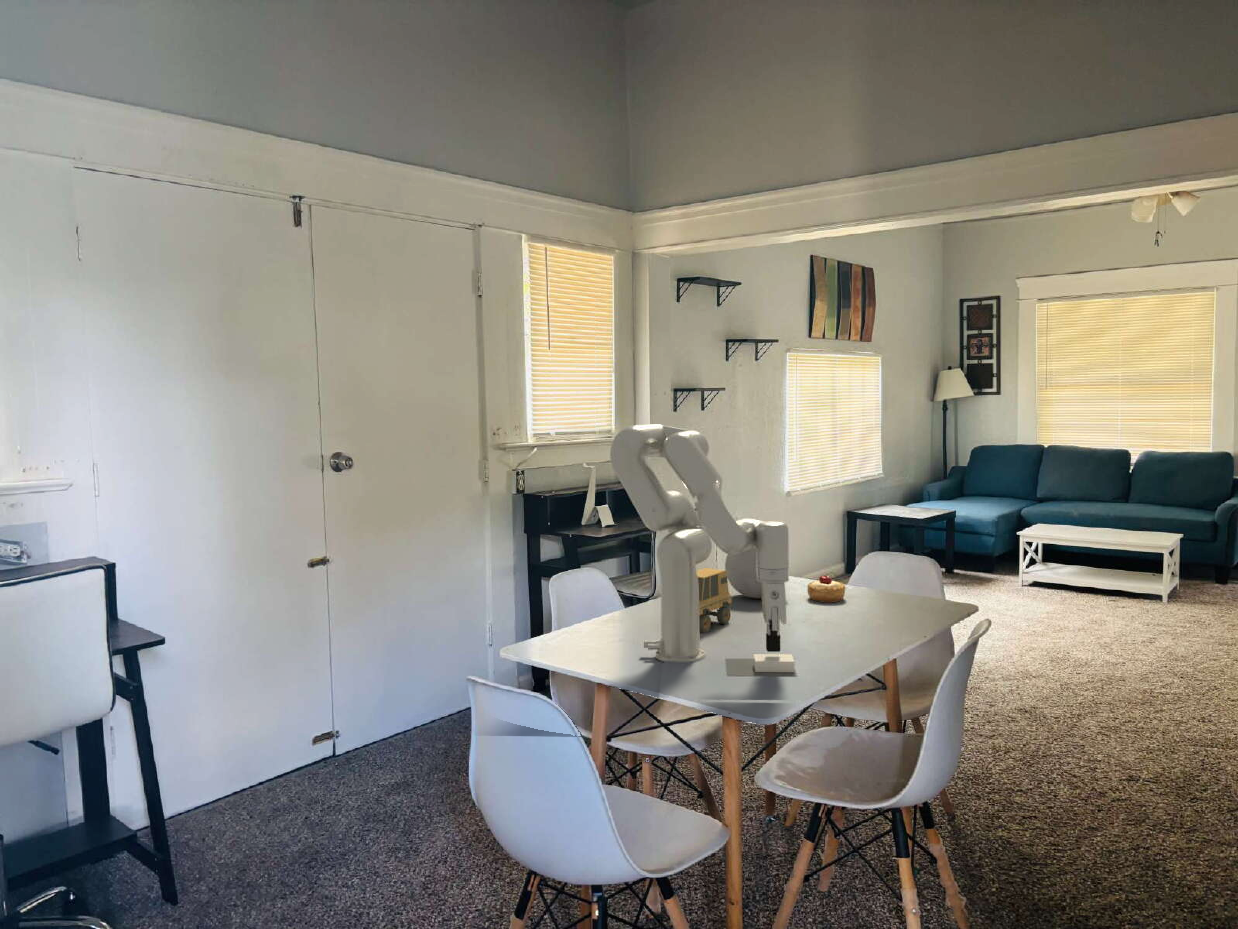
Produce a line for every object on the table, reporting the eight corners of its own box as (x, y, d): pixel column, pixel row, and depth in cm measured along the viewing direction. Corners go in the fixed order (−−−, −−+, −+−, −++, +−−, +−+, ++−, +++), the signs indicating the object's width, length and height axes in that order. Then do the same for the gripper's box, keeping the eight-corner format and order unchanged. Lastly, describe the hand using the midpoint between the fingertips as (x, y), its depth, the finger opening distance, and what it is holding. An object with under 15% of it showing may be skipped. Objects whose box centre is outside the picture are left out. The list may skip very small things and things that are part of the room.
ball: (793, 604, 287) (792, 540, 286) (728, 605, 288) (727, 541, 286) (783, 590, 307) (783, 530, 305) (722, 591, 308) (722, 531, 306)
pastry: (803, 597, 299) (802, 570, 298) (839, 595, 299) (838, 568, 299) (813, 604, 287) (812, 576, 286) (851, 602, 287) (850, 574, 287)
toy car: (668, 630, 258) (667, 577, 257) (704, 616, 274) (703, 566, 273) (700, 635, 252) (699, 581, 251) (735, 621, 268) (734, 570, 266)
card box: (753, 665, 222) (755, 672, 216) (753, 654, 222) (755, 661, 216) (791, 665, 221) (794, 672, 215) (791, 654, 221) (794, 661, 215)
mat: (727, 678, 214) (727, 676, 214) (725, 661, 228) (725, 658, 228) (797, 679, 213) (797, 676, 212) (791, 661, 226) (791, 659, 226)
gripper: (792, 580, 211) (792, 659, 212) (785, 568, 226) (786, 642, 227) (758, 580, 211) (759, 659, 213) (754, 568, 226) (755, 642, 228)
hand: (773, 650), depth 220 cm, fingers closed
